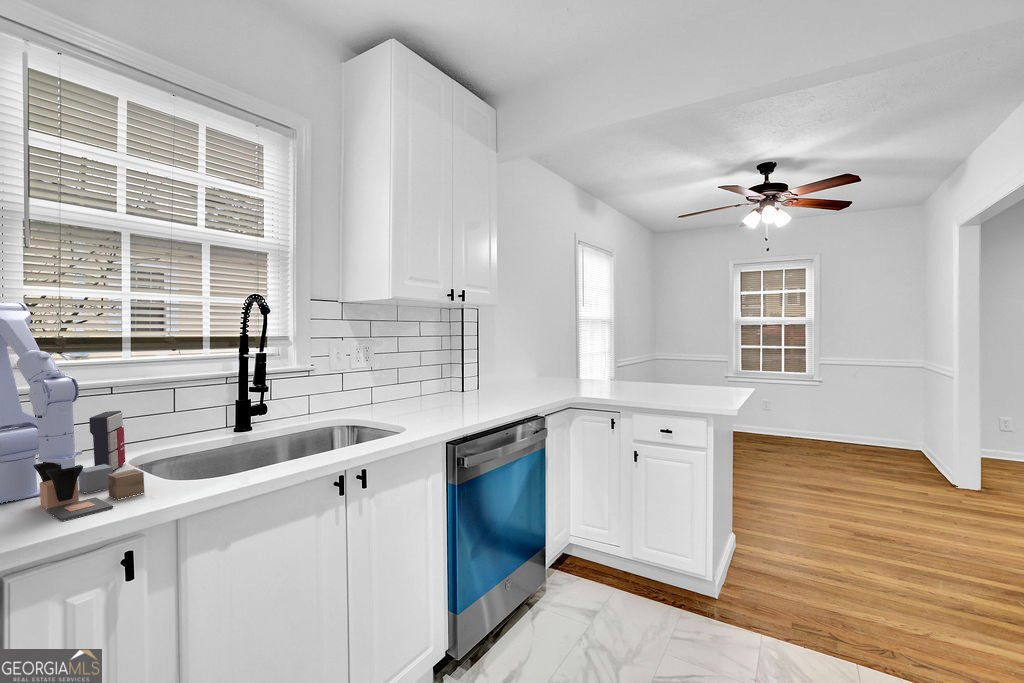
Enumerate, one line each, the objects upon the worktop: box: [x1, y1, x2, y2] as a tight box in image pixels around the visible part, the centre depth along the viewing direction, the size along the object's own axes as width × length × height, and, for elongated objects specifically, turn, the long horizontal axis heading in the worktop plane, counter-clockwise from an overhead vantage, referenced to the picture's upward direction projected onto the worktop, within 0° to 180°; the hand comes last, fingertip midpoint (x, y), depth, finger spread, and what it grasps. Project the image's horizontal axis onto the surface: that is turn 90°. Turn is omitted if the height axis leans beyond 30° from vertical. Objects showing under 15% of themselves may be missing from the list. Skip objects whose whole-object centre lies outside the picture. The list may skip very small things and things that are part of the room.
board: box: [46, 496, 114, 522], centre depth 103 cm, size 10×8×1 cm
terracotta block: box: [39, 479, 80, 510], centre depth 107 cm, size 5×5×5 cm
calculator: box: [89, 410, 126, 471], centre depth 133 cm, size 11×4×15 cm, turn 22°
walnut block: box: [108, 468, 145, 501], centre depth 112 cm, size 5×5×5 cm
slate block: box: [78, 464, 114, 494], centre depth 117 cm, size 5×5×5 cm
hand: (59, 497), depth 107 cm, fingers open, 7 cm apart
